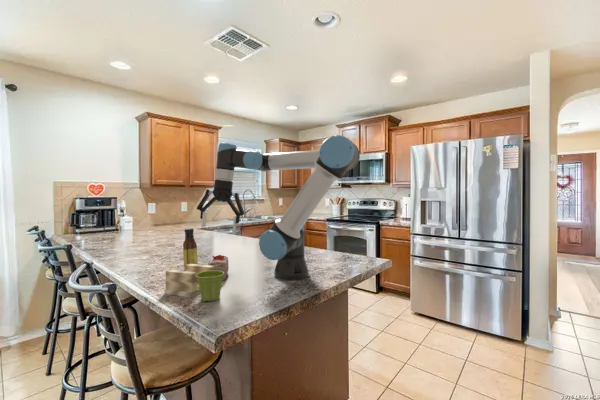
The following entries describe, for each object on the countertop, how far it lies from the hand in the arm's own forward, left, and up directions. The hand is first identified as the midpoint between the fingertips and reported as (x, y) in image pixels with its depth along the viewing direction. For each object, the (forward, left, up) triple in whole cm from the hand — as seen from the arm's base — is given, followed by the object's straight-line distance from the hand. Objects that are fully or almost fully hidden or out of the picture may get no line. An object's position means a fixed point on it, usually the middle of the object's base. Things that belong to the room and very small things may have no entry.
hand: (218, 228), depth 126 cm
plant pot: (-13, +23, -22) cm, 34 cm away
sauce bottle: (+22, -7, -22) cm, 31 cm away
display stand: (+1, +17, -21) cm, 27 cm away
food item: (+1, 0, -22) cm, 22 cm away
